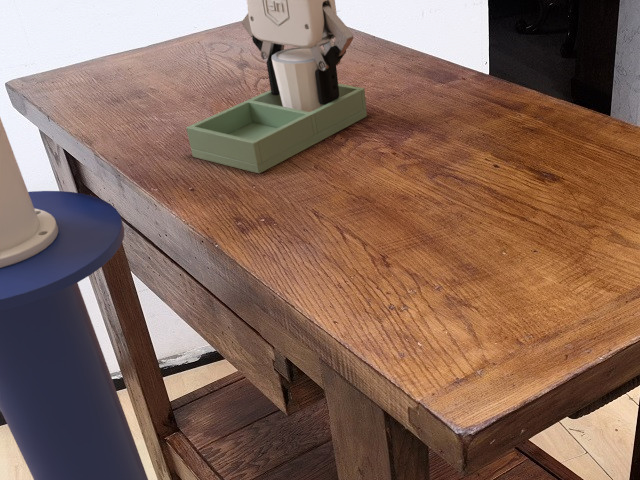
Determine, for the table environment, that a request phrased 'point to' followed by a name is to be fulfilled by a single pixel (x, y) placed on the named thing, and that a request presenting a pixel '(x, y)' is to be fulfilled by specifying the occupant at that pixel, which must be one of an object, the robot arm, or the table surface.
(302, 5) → the robot arm
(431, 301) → the table surface
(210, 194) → the table surface
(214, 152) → the tray
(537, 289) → the table surface
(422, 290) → the table surface
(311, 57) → the white tapered cup
